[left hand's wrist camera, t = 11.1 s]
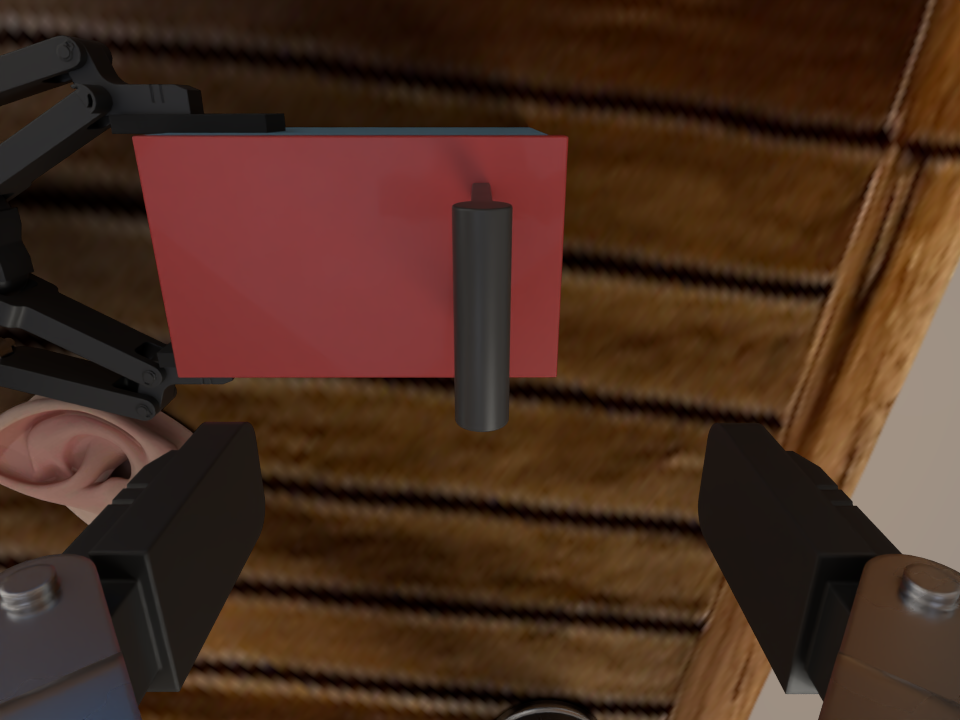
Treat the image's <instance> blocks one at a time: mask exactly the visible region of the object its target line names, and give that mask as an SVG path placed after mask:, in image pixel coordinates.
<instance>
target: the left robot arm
mask: <svg viewBox="0 0 960 720" xmlns="http://www.w3.org/2000/svg"><path fill="white" fill-rule="evenodd" d="M698 515H699V522H700V527H701V531H702V534H703V536H704V538H705V540H706V542H707V544H708V546H709V548H710V550H711V552H712V553H713V555H714V557H715V559H716V561H717V563H718V565H719V567H720V569H721V571H722V573H723V575H724V577H725V578H726V580H727V582H728V584H729V586H730V588H731V590H732V592H733V594H734V596H735V598H736V600H737V601H738V603H739V605H740V607H741V609H742V611H743V613H744V615H745V617H746V619H747V621H748V623H749V625H750V626H751V628H752V630H753V632H754V634H755V636H756V638H757V640H758V642H759V644H760V646H761V648H762V649H763V651H764V653H765V655H766V657H767V659H768V661H769V663H770V665H771V667H772V669H773V671H774V672H775V674H776V676H777V678H778V680H779V682H780V684H781V686H782V688H783V690H784V692H785V694H819V695H820V697H821V698H822V700H823V705H822V708H821V712H820V715H819V719H818V720H960V573H959V572H957V571H955V570H953V569H951V568H949V567H947V566H945V565H942V564H940V563H937V562H934V561H931V560H928V559H925V558H921V557H916V556H912V555H904V554H902V553H901V552H900V551H899V550H898V549H897V548H896V547H895V546H894V545H893V544H892V543H891V542H890V541H889V540H888V539H887V538H886V536H885V535H884V534H883V533H882V532H881V531H880V530H879V529H878V528H877V527H876V526H875V525H874V524H873V523H872V522H871V521H870V520H869V519H868V517H867V516H866V515H865V514H864V513H863V512H862V511H861V510H860V509H859V508H858V507H857V506H853V502H852V501H851V499H850V498H849V497H848V496H847V495H846V494H845V493H844V492H843V491H842V490H838V486H837V485H836V484H835V483H834V481H833V480H832V479H831V478H830V477H829V476H828V475H827V474H826V473H825V472H824V471H823V470H822V469H821V468H820V467H819V466H817V465H816V464H814V463H812V462H810V461H809V460H807V459H805V458H804V457H802V456H800V455H798V454H797V453H795V452H793V451H785V450H784V449H783V448H782V447H781V446H780V444H779V443H778V442H777V441H776V440H775V439H774V438H773V436H772V435H771V434H770V433H769V432H768V431H767V430H766V429H765V427H764V426H763V425H761V424H759V423H715V424H713V425H712V427H711V429H710V431H709V434H708V440H707V446H706V453H705V460H704V466H703V473H702V480H701V486H700V493H699V500H698ZM264 516H265V496H264V490H263V483H262V476H261V469H260V463H259V456H258V449H257V442H256V436H255V432H254V429H253V427H252V425H251V424H250V423H249V422H204V423H202V424H201V425H200V426H199V427H198V429H197V430H196V431H195V432H194V433H193V434H192V435H191V437H190V438H189V439H188V440H187V441H186V442H185V443H184V444H183V446H182V447H181V448H180V449H179V450H170V451H169V452H167V453H165V454H164V455H162V456H160V457H159V458H157V459H155V460H153V461H152V462H150V463H148V464H147V465H145V466H144V467H143V468H142V469H141V470H140V471H139V472H138V473H137V474H136V475H135V476H134V477H133V478H132V480H131V481H130V482H129V483H128V484H127V488H123V489H122V490H121V491H120V492H119V493H118V494H117V496H116V497H115V498H114V499H113V500H112V504H108V505H107V506H106V507H105V508H104V509H103V510H102V512H101V513H100V514H99V515H98V516H97V517H96V518H95V519H94V520H93V521H92V522H91V523H90V524H89V525H88V527H87V528H86V529H85V530H84V531H83V532H82V533H81V534H80V535H79V536H78V537H77V538H76V539H75V540H74V541H73V543H72V544H71V545H70V546H69V547H68V548H67V549H66V550H65V551H64V552H63V553H62V554H56V555H48V556H44V557H39V558H35V559H32V560H29V561H26V562H23V563H20V564H18V565H15V566H13V567H11V568H9V569H7V570H5V571H3V572H1V573H0V720H142V719H141V715H140V712H139V708H138V705H139V704H140V702H141V700H142V698H143V697H144V695H145V693H146V692H179V691H180V689H181V687H182V685H183V683H184V681H185V679H186V677H187V676H188V674H189V672H190V670H191V668H192V666H193V664H194V662H195V660H196V658H197V656H198V654H199V652H200V650H201V648H202V646H203V644H204V643H205V641H206V639H207V637H208V635H209V633H210V631H211V629H212V627H213V625H214V623H215V621H216V619H217V617H218V615H219V613H220V611H221V609H222V608H223V606H224V604H225V602H226V600H227V598H228V596H229V594H230V592H231V590H232V588H233V586H234V584H235V582H236V580H237V578H238V576H239V575H240V573H241V571H242V569H243V567H244V565H245V563H246V561H247V559H248V557H249V555H250V553H251V551H252V549H253V547H254V545H255V543H256V541H257V540H258V538H259V536H260V533H261V530H262V527H263V523H264ZM496 720H596V719H595V718H594V717H593V716H592V715H591V714H590V713H589V712H587V711H586V710H584V709H582V708H581V707H578V706H576V705H574V704H571V703H567V702H563V701H556V700H538V701H531V702H527V703H523V704H520V705H518V706H515V707H513V708H511V709H509V710H507V711H506V712H504V713H503V714H502V715H500V716H499V717H498V718H497V719H496Z"/></svg>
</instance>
